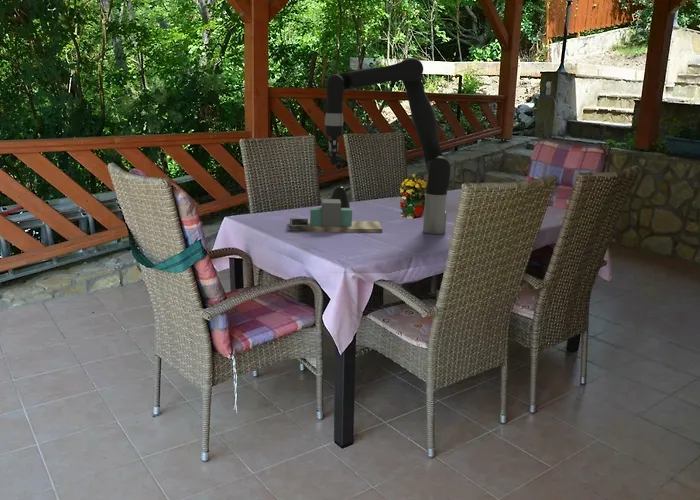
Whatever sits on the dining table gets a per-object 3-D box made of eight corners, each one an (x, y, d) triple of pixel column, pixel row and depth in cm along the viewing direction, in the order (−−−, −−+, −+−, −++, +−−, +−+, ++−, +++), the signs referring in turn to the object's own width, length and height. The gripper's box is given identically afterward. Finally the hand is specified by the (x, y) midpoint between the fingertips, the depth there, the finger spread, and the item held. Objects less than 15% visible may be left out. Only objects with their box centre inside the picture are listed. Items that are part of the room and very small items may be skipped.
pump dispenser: (353, 219, 295) (354, 187, 291) (332, 220, 291) (333, 188, 287) (345, 214, 304) (346, 183, 300) (325, 216, 301) (325, 184, 296)
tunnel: (339, 222, 282) (339, 199, 279) (340, 227, 274) (341, 203, 271) (321, 222, 282) (321, 199, 279) (322, 226, 274) (322, 203, 271)
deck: (378, 224, 287) (378, 219, 286) (382, 232, 274) (382, 227, 273) (289, 223, 283) (289, 218, 283) (289, 231, 270) (289, 225, 269)
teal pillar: (350, 223, 281) (351, 208, 279) (351, 226, 276) (352, 210, 274) (310, 222, 280) (310, 207, 278) (310, 225, 275) (310, 209, 273)
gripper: (344, 125, 254) (343, 166, 259) (341, 123, 268) (340, 161, 273) (325, 125, 254) (324, 165, 258) (324, 122, 267) (323, 160, 272)
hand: (333, 163), depth 265 cm, fingers open, 8 cm apart
